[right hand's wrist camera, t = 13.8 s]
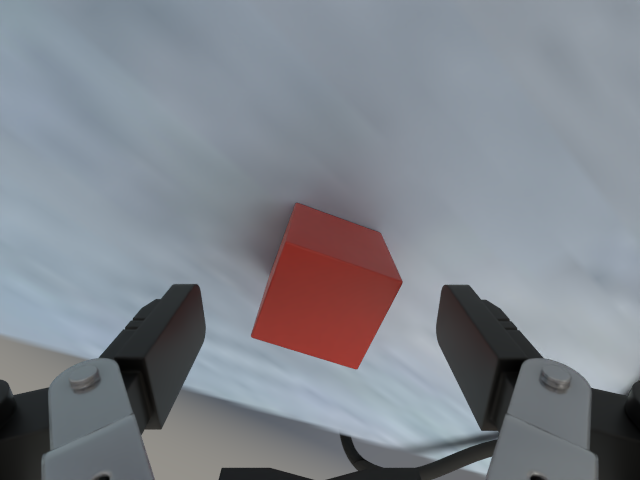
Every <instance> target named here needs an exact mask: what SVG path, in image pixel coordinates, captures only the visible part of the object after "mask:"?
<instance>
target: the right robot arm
mask: <svg viewBox="0 0 640 480" xmlns="http://www.w3.org/2000/svg"><path fill="white" fill-rule="evenodd" d="M205 331H206V326H205V318H204V311H203V304H202V297H201V291H200V287H199V286H198V285H197V284H174V285H172V286H171V287H170V289H169V290H168V291H167V292H166V294H165V295H164V296H163V297H162V298H161V299H156V300H154V301H152V302H151V303H149V304H148V305H146V306H144V307H143V308H142V309H141V310H140V311H139V312H138V313H137V314H136V315H135V317H134V318H133V321H130V322H129V324H128V325H127V326H126V327H125V330H122V332H121V333H120V334H119V335H118V336H117V337H116V338H115V340H114V341H113V342H112V343H111V344H110V345H109V347H108V348H107V349H106V350H105V351H104V352H103V353H102V355H101V356H100V357H99V358H96V359H91V360H87V361H84V362H81V363H79V364H76V365H74V366H72V367H70V368H68V369H67V370H65V371H64V372H62V373H61V374H60V375H59V376H57V377H56V378H55V379H54V381H53V382H52V383H51V385H50V387H49V388H44V389H40V390H35V391H31V392H26V393H22V394H17V395H13V394H12V391H11V389H10V387H9V385H8V383H7V382H6V381H4V380H0V480H155V479H154V475H153V472H152V469H151V466H150V463H149V459H148V456H147V453H146V450H145V446H144V443H143V440H142V437H141V435H142V433H143V431H144V429H162V427H163V425H164V423H165V421H166V418H167V416H168V414H169V412H170V410H171V408H172V406H173V404H174V402H175V400H176V398H177V396H178V394H179V392H180V390H181V388H182V386H183V384H184V381H185V379H186V377H187V375H188V373H189V371H190V369H191V367H192V365H193V363H194V361H195V359H196V357H197V355H198V353H199V351H200V349H201V347H202V344H203V342H204V338H205ZM436 334H437V340H438V343H439V346H440V348H441V350H442V352H443V354H444V356H445V358H446V360H447V362H448V364H449V366H450V368H451V370H452V372H453V374H454V376H455V378H456V380H457V382H458V384H459V386H460V388H461V390H462V392H463V394H464V396H465V398H466V400H467V403H468V405H469V407H470V409H471V411H472V413H473V415H474V417H475V419H476V421H477V423H478V425H479V427H480V429H481V431H499V433H500V434H499V437H498V440H493V441H489V442H485V443H481V444H478V445H475V446H472V447H469V448H467V449H464V450H462V451H459V452H457V453H454V454H452V455H450V456H447V457H445V458H442V459H440V460H438V461H435V462H433V463H430V464H427V465H424V466H421V467H417V468H383V467H379V466H377V465H374V464H372V463H370V462H368V461H367V460H365V459H364V458H363V457H362V456H361V455H360V454H359V453H358V452H357V450H356V449H355V447H354V444H353V441H352V438H351V436H349V435H346V434H342V433H339V434H340V439H341V443H342V446H343V449H344V451H345V454H346V455H347V458H348V459H349V461H350V462H351V464H352V465H353V466H354V467H355V468H356V469H357V470H358V471H357V472H353V473H349V474H346V475H342V476H339V477H335V478H331V479H327V480H432V479H435V478H437V477H440V476H442V475H445V474H447V473H450V472H452V471H455V470H457V469H459V468H462V467H464V466H466V465H469V464H471V463H474V462H476V461H479V460H482V459H485V458H488V457H492V459H491V463H490V466H489V469H488V472H487V475H486V479H485V480H640V381H638V382H636V383H635V384H634V385H633V387H632V389H631V391H630V393H629V396H625V395H621V394H616V393H612V392H607V391H603V390H598V389H594V388H591V387H590V385H589V383H588V382H587V381H586V379H585V378H584V377H583V376H581V375H580V374H579V373H578V372H576V371H575V370H573V369H572V368H570V367H568V366H566V365H564V364H562V363H559V362H556V361H553V360H549V359H544V358H543V357H542V356H541V355H540V354H539V352H538V351H537V350H536V349H535V348H534V347H533V346H532V344H531V343H530V342H529V341H528V340H527V339H526V338H525V336H524V335H523V334H522V333H521V332H520V331H519V330H517V327H516V326H515V325H514V324H513V323H512V322H511V321H510V319H509V318H508V317H507V316H506V315H505V314H504V312H503V311H502V310H501V309H500V308H498V307H497V306H495V305H494V304H492V303H490V302H489V301H487V300H481V299H480V298H479V296H478V295H477V294H476V293H475V292H474V290H473V289H472V288H471V287H470V286H469V285H444V286H443V288H442V291H441V297H440V303H439V310H438V317H437V324H436ZM219 480H313V479H309V478H305V477H302V476H298V475H294V474H291V473H287V472H283V471H280V470H276V469H272V468H222V469H221V473H220V477H219Z"/></svg>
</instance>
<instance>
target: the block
mask: <svg viewBox="0 0 640 480" xmlns="http://www.w3.org/2000/svg"><path fill="white" fill-rule="evenodd" d="M402 283H403V281H402V279H401V277H400V275H399V272H398V270H397V268H396V266H395V264H394V261H393V259H392V257H391V255H390V252H389V250H388V248H387V246H386V244H385V241H384V239H383V237H382V235H381V233H379V232H377V231H374V230H371V229H368V228H366V227H363V226H360V225H357V224H354V223H352V222H349V221H346V220H343V219H341V218H338V217H335V216H332V215H330V214H327V213H324V212H321V211H319V210H316V209H313V208H310V207H308V206H305V205H302V204H299V203H296V204H295V206H294V209H293V212H292V214H291V217H290V220H289V223H288V225H287V228H286V231H285V234H284V237H283V239H282V242H281V245H280V248H279V250H278V253H277V256H276V259H275V262H274V264H273V267H272V270H271V273H270V275H269V279H268V282H267V285H266V288H265V292H264V295H263V298H262V301H261V304H260V308H259V311H258V314H257V317H256V321H255V324H254V327H253V330H252V334H251V337H252V338H255V339H258V340H262V341H265V342H268V343H271V344H275V345H278V346H281V347H284V348H288V349H291V350H294V351H297V352H301V353H304V354H307V355H311V356H314V357H317V358H320V359H324V360H327V361H330V362H333V363H337V364H340V365H343V366H346V367H350V368H353V369H358V367H359V365H360V363H361V361H362V359H363V357H364V356H365V354H366V352H367V350H368V348H369V346H370V344H371V342H372V340H373V338H374V336H375V335H376V333H377V331H378V329H379V327H380V325H381V323H382V321H383V319H384V317H385V315H386V314H387V312H388V310H389V308H390V306H391V304H392V302H393V300H394V298H395V296H396V295H397V293H398V291H399V289H400V287H401V285H402Z"/></svg>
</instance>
